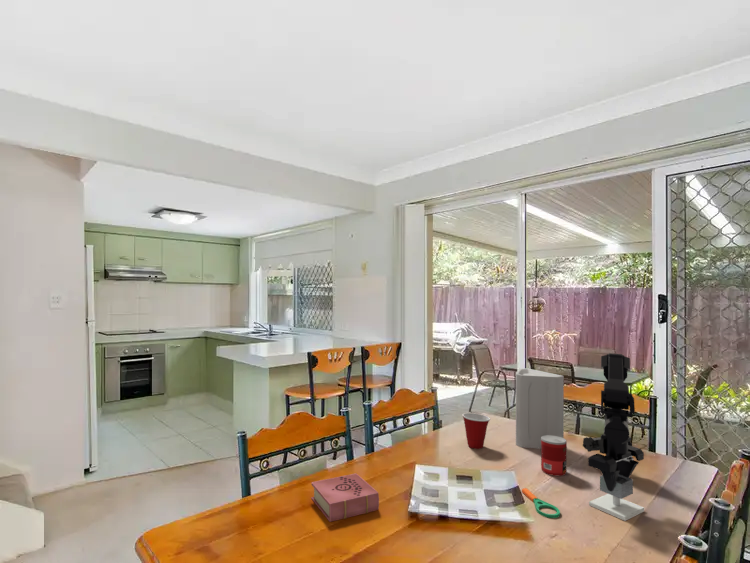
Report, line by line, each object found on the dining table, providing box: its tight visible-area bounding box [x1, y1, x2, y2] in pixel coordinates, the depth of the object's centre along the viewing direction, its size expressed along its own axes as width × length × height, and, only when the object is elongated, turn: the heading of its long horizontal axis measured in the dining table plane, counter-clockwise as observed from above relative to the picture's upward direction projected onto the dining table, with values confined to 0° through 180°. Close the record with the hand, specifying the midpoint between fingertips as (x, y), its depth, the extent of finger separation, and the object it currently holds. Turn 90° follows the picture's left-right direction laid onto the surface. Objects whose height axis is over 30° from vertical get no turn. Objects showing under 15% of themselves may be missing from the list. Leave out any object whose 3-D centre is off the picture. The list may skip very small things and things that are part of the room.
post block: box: [588, 493, 645, 522], centre depth 123 cm, size 10×10×5 cm
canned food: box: [540, 435, 568, 477], centre depth 148 cm, size 8×8×11 cm
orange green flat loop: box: [521, 487, 561, 519], centre depth 124 cm, size 15×6×2 cm, turn 12°
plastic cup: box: [461, 412, 491, 450], centre depth 171 cm, size 11×11×12 cm
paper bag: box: [515, 367, 565, 450], centre depth 176 cm, size 19×15×28 cm
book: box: [310, 472, 380, 523], centre depth 123 cm, size 14×15×5 cm
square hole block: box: [599, 474, 634, 499], centre depth 123 cm, size 6×6×4 cm
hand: (616, 488), depth 123 cm, fingers closed on square hole block, 6 cm apart
